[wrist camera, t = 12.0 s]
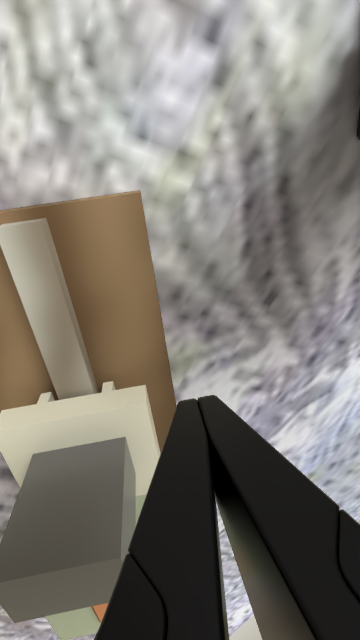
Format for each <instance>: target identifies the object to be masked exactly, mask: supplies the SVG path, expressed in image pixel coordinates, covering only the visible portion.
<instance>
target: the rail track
mask: <svg viewBox="0 0 360 640" xmlns="http://www.w3.org/2000/svg"><path fill="white" fill-rule="evenodd" d="M110 381H113V382H114V386H115V390H119V389H124V388H130V387H136V386H141V385H146V389H147V393H148V398H149V403H150V407H151V412H152V417H153V421H154V426H155V431H156V435H157V440H158V444H159V449H160V454H161V451H162V448H163V445H164V442H165V439H166V436H167V433H168V431H169V428H170V425H171V422H172V419H173V416H174V413H175V410H176V402H175V396H174V390H173V384H172V378H171V372H170V366H169V360H168V354H167V348H166V342H165V336H164V330H163V324H162V318H161V312H160V306H159V300H158V295H157V289H156V283H155V277H154V271H153V265H152V259H151V253H150V247H149V241H148V235H147V229H146V223H145V217H144V211H143V205H142V199H141V193H140V190H139V191H132V192H125V193H118V194H111V195H104V196H97V197H90V198H83V199H76V200H69V201H62V202H55V203H48V204H41V205H34V206H27V207H20V208H13V209H6V210H0V413H1V411H2V410H6V409H12V408H17V407H23V406H29V405H34V404H37V402H38V400H39V397H40V395H41V394H42V393H48V392H52V395H53V397H54V400H55V401H57V400H62V399H68V398H74V397H79V396H85V395H91V394H96V393H102V386H103V383H105V382H110Z"/></svg>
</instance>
